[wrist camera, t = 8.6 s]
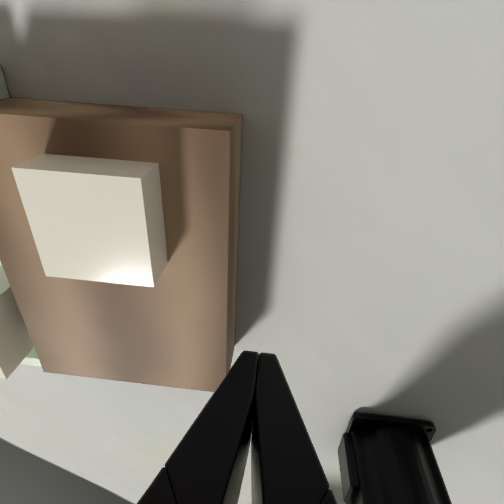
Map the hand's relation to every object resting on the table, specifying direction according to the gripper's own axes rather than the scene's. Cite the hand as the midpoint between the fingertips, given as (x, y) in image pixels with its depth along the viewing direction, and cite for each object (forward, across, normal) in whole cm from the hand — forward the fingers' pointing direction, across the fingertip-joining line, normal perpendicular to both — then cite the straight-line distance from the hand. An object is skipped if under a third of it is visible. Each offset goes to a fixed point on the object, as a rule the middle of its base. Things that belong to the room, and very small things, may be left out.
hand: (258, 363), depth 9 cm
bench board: (+12, +8, +4) cm, 15 cm away
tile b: (+8, +8, 0) cm, 11 cm away
